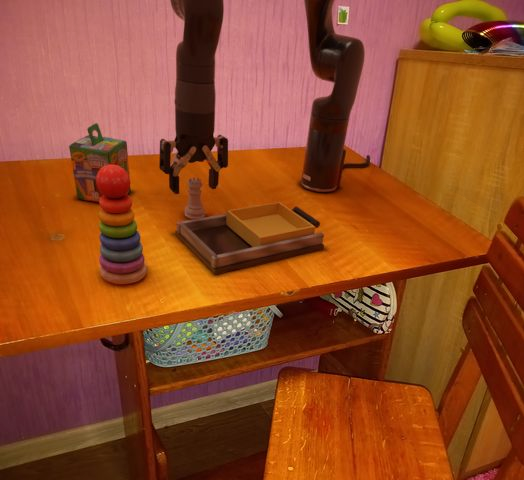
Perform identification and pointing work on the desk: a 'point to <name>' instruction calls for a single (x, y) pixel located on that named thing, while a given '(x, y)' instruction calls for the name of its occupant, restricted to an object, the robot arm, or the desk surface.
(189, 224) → the base
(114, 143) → the chalk box
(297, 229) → the tray
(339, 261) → the desk surface
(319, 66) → the robot arm
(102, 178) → the stacking toy
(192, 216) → the rook chess piece
